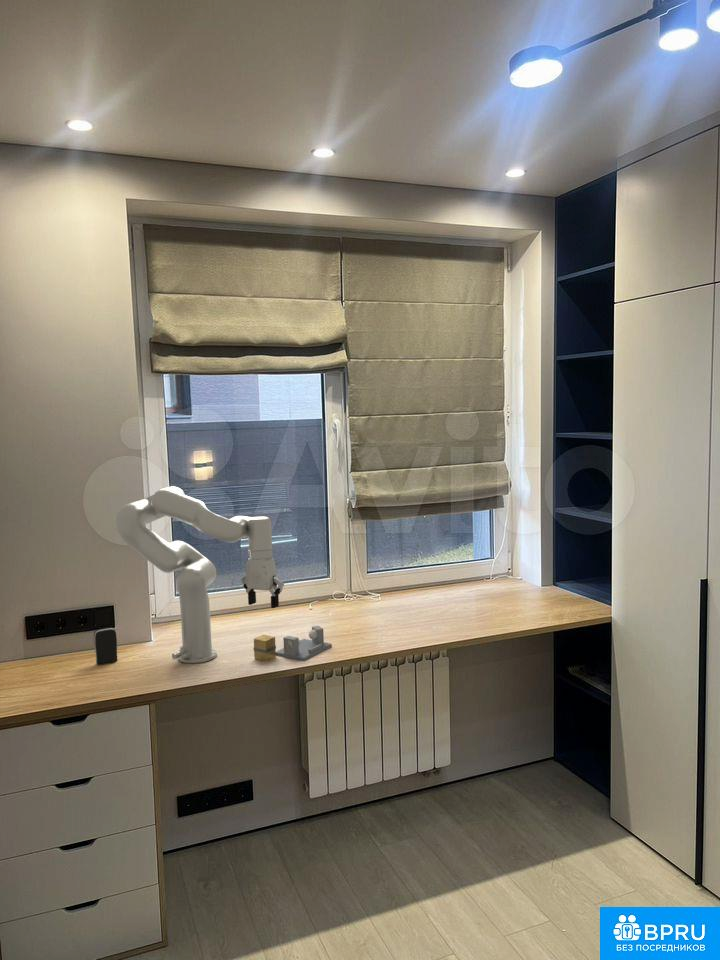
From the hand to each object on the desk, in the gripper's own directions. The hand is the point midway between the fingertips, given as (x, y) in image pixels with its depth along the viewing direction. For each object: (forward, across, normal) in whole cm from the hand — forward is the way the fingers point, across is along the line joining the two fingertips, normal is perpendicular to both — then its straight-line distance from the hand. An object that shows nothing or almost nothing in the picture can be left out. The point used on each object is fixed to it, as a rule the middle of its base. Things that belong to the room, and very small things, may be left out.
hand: (263, 605), depth 233 cm
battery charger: (+18, -45, -28) cm, 56 cm away
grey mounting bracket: (+18, +7, +12) cm, 22 cm away
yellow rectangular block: (+18, 0, 0) cm, 18 cm away
